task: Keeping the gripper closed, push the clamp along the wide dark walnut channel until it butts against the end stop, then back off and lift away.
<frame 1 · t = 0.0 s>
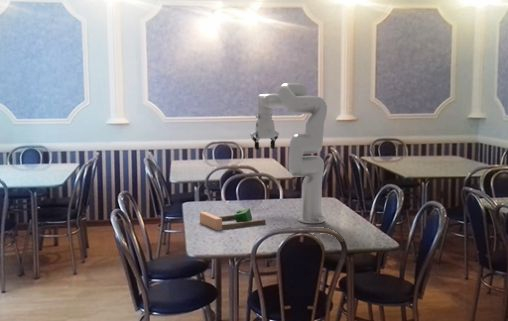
hand: (264, 148, 330), 31 cm above the table, tool pointing down, fingers open, 9 cm apart
end stop: (210, 226, 284), on the table
guide rails: (235, 223, 290), on the table
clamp: (243, 222, 292), on the table
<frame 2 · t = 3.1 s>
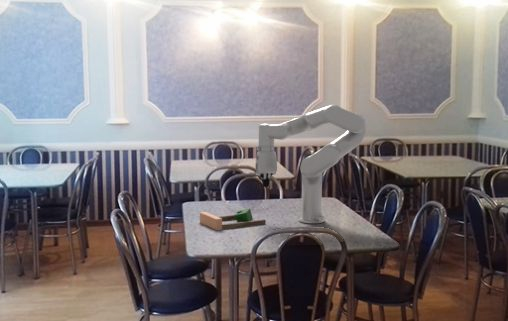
hand: (265, 186, 297), 16 cm above the table, tool pointing down, fingers closed
nothing on the table moved.
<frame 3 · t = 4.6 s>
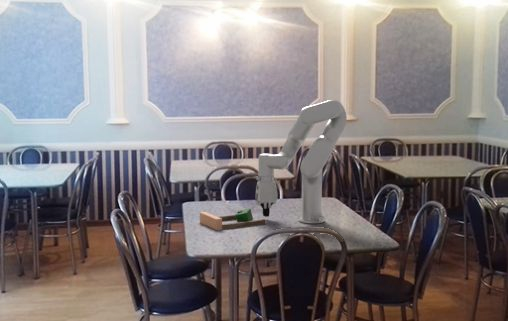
hand: (266, 216, 298), 2 cm above the table, tool pointing down, fingers closed
nothing on the table moved.
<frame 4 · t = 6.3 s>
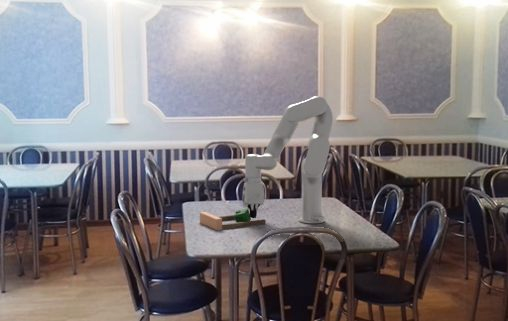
hand: (253, 217, 295), 2 cm above the table, tool pointing down, fingers closed
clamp: (242, 222, 292), on the table, touching gripper
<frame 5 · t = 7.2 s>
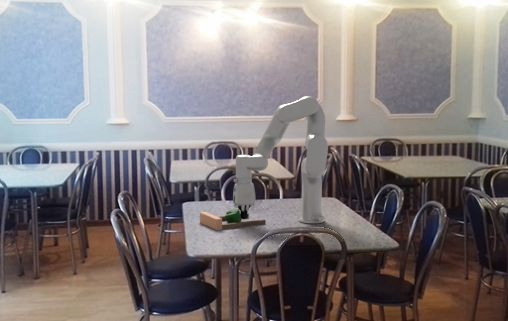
hand: (244, 218, 292), 2 cm above the table, tool pointing down, fingers closed
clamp: (233, 223, 290), on the table, touching gripper
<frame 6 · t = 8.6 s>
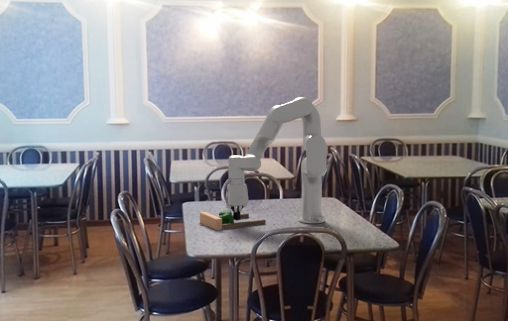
hand: (236, 219, 290), 2 cm above the table, tool pointing down, fingers closed
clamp: (226, 224, 288), on the table, touching gripper
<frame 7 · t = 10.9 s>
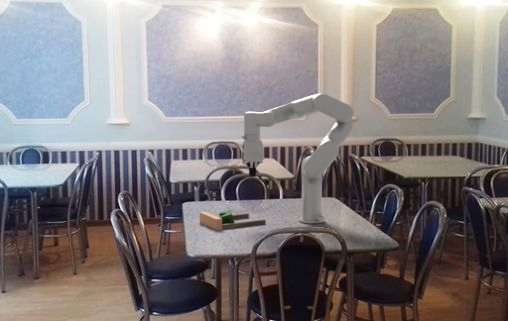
hand: (252, 175, 292), 22 cm above the table, tool pointing down, fingers closed
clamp: (226, 224, 289), on the table
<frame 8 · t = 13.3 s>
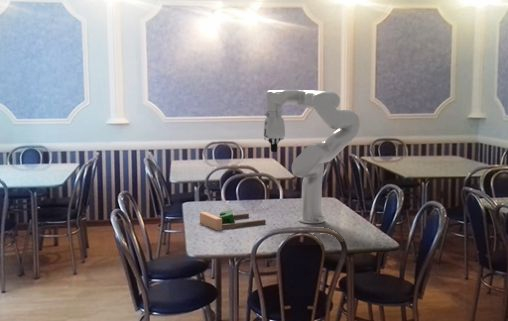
hand: (274, 151, 306), 32 cm above the table, tool pointing down, fingers closed
nothing on the table moved.
at the end: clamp inside the target area (1.1 cm from its centre), on the table; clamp moved 8.2 cm from its start; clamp tilted 0° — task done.
